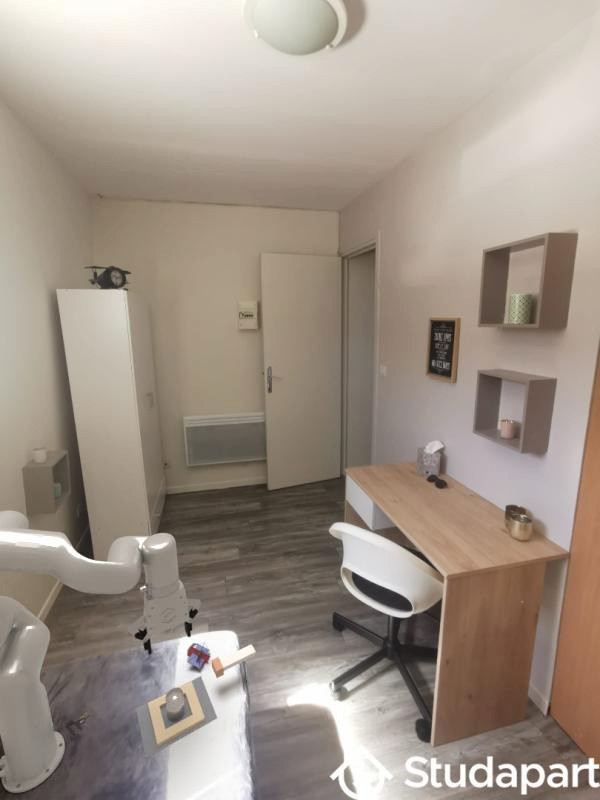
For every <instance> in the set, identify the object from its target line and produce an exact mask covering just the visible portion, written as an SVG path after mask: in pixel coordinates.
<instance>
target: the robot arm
mask: <svg viewBox="0 0 600 800" xmlns="http://www.w3.org/2000/svg"><path fill="white" fill-rule="evenodd" d="M29 526H30V525H29V520H28V518H27V516H25V514H23V513H22V512H19V511H16V510H10V509H8V510H3V511H2V510H1V511H0V572H14V573H15V572H16V573H31V574H42V575H43V574H45V575H50V576H52V577H54V578H55V579H56V580H57V581H58V582H60V583H61V584H63V585H66V586H67V587H69V588H71V589H74V590H76V591H79V592H80V593H87V594H95V595H96V594H97V595H117V594H123V593H127V592H129V591H130V590H132V589H134V588H135V587H136V586H137V584H138V583H139V581H140V579H141V575H142V569H143V568H144V576H145V583H144V585H141V586H139V590H140V594H142V593H144V595H143V606H142V607H143V614H142V616H140V617H138V619H137V620H135V621H134V622H133V623H132V624H130V626H128V631H129V633H130V634H131V635H132V636H133V637H134V638H135V640H140V641H142V645H143V651H144V652H146V651H147V653H148V656H149V655H152V653H153V651H152V643H151V639H150V637H151V636H156V635H158V634H161V633H163V632H166V631H168V630H171V629H173V628H175V627H177V626H180V625H182V624H184V630H185V634H186V636H187V638H191V637H192V633H191V632H192V631H193V622H194V619H195V617H196V616H197V614H198V613H199V609H200V607H201V605H202V601H201V600H200V599H198V598H187V594H186V590H185V586H184V583H183V582H182V581H181V580H180V577H179V575H180V574H179V565H178V564H179V563H178V552H177V542H176V538H175V536H173V534H171V533H167V532H160V533H155V534H152V535H125V536H121V537H119V538H116V539H115V540H114V541H113V542H112V544H111V545H110V547H109V550H108V555H107V558H106V561H104V560H103V561H102V560H96V559H91V558H88V557H86V556H84V555H82V554H80V553H79V552H78V551H77V550H76V549H75V548H74V546H73V545H72V543H71V541H70V540H69V538H68V537H67V535H66V534H65V533H63V532H61V531H52V530H51V531H50V530H42V529H32V528H30V529H29ZM142 567H143V568H142ZM189 607H191V609H189ZM144 624H145V625H144ZM143 625H144V627H143V628H142V630H141V629H139V628H141V627H142V626H143ZM50 640H51V632H50V630H49V627H47V625H46V624H45V622H43V621H42V620H41V619H39V618H38V617H37V616H36V615H35V614H34V613H32V612H31V611H30V610H28V609H27V607H25V606H24V605H23V604H21V603H20V602H19V601H17V600H16V599H14V598H12V597H9V596H6V595H0V739H1V743H2V747H3V751H4V755H2V756H1V758H0V769H1V770H0V778H1V782H2V786H3V787H4V789H5V790H6V791H8V792H10V793H13V794H16V793H17V794H20V793H23V792H24V793H25V792H27V791H30V790H32V789H34V788H37V786H39V785H40V784H42V783H43V782H44V781H46V779H48V778H49V777H50V776H51V775H52V774H53V773H54V771H55V770H56V769H57V768H58V767H59V765H60V763H61V761H62V760H63V756H64V755H65V749H66V747H65V746H66V744H65V740H64V737H63V735H62V734H61V733H60V732H58V731H55V729H54V723H53V719H52V713H51V709H50V708H51V707H50V704H49V698H48V694H47V690H46V687H45V685H44V683H42V681H41V679H40V678H41V676H40V675H41V670H42V666H43V663H44V661H45V660H44V659H45V657H46V654H47V651H48V648H49V644H50Z"/></svg>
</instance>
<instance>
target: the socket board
mask: <svg viewBox="0 0 600 800" xmlns="http://www.w3.org/2000/svg"><path fill="white" fill-rule="evenodd" d="M177 688H181V689H182V691H183V698H184V709H185V712H184V715H183V717H182V718H181V719H180V720H178V721H175V722H172V721H170V720H169V719H168V716H167V707H166V694H167V693H168V692H167V693H164V694H163V695H160V696H158V697H156V698H154V699H152V700H150V701H148V702H146V703H144V704H142V705H139V706H138V707H135V710H136V716H137V723H138V726H139V731H140V736H141V737H140V738H141V742H142V746H143V750H144V751H143V753H144V757H145V759H148V758H149V757H151V756H153V755H154V754H156V753H158V752H160V751H162V750H163V749H165V748H167V747H168V746H171V745H172V744H174V743H175V742H178V741H179V740H181V739H183V738H185V737H187V736H188V735H190V734H192V733H194V732H196V731H198V729H200V728H203V727H204V726H206V725H208V724H210V723H211V722H213V721H214V720H216V719H218V716H217V714H216V712H215V708H214V706H213V703H212V701H211V698H210V695H209V693H208V691H207V688H206V685H205V683H204V680H203V678H202V676H199V677H196V678H194V679H193V680H190V681H188V682H186V683H184V684H182V685H180V686H178V687H177Z"/></svg>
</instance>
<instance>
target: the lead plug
mask: <svg viewBox="0 0 600 800" xmlns="http://www.w3.org/2000/svg"><path fill="white" fill-rule="evenodd" d="M165 694H166V693H165ZM166 707H167V716H168V719H169V720H170V721H172V722H175V721H178V720H180V719H181V718H182V717H183V715H184V712H185V709H184V698H183V691H182V689H181V688H178V687H172V688H171V689H169V690H168V692H167V694H166Z"/></svg>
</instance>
